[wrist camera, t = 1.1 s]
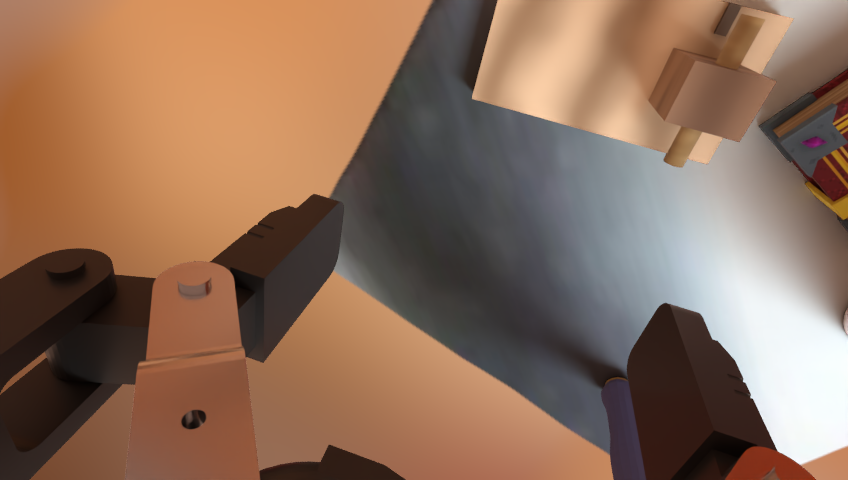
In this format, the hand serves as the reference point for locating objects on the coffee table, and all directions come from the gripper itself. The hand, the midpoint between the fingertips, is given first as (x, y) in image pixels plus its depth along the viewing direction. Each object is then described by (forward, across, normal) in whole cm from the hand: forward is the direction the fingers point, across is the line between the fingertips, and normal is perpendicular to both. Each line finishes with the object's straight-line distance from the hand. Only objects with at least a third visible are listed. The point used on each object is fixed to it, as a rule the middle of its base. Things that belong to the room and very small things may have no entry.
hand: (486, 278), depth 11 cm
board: (+32, -6, -2) cm, 33 cm away
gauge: (+30, -12, -2) cm, 32 cm away
